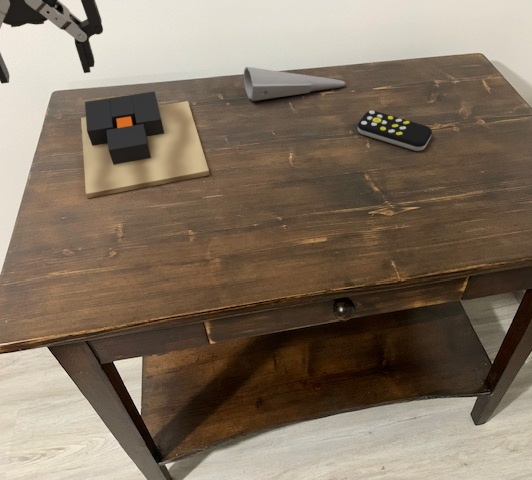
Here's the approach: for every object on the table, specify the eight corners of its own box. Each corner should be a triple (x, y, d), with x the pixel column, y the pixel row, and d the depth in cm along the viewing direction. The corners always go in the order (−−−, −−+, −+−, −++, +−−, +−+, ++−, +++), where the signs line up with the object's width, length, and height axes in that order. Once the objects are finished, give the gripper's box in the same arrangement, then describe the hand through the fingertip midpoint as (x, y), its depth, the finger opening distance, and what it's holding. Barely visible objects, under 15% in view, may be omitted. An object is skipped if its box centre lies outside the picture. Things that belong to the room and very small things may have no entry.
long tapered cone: (337, 54, 106) (244, 60, 100) (349, 73, 103) (253, 81, 96) (332, 78, 111) (242, 85, 104) (343, 97, 107) (251, 106, 101)
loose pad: (113, 164, 86) (108, 150, 84) (109, 134, 92) (105, 120, 89) (151, 158, 88) (147, 143, 85) (145, 129, 93) (141, 114, 91)
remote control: (422, 154, 92) (423, 145, 90) (354, 133, 95) (355, 124, 94) (432, 135, 96) (435, 126, 94) (367, 116, 99) (368, 106, 98)
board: (87, 198, 82) (85, 193, 81) (82, 122, 95) (80, 117, 95) (209, 175, 87) (208, 170, 86) (188, 105, 100) (187, 100, 99)
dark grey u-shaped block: (92, 145, 89) (86, 131, 87) (89, 116, 95) (84, 101, 93) (164, 133, 92) (161, 119, 90) (157, 105, 98) (154, 91, 96)
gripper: (-110, -70, 44) (-25, 102, 56) (72, -81, 48) (116, 82, 59) (-96, -97, 49) (-20, 66, 60) (69, -105, 52) (110, 51, 64)
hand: (47, 74), depth 60 cm, fingers open, 8 cm apart
